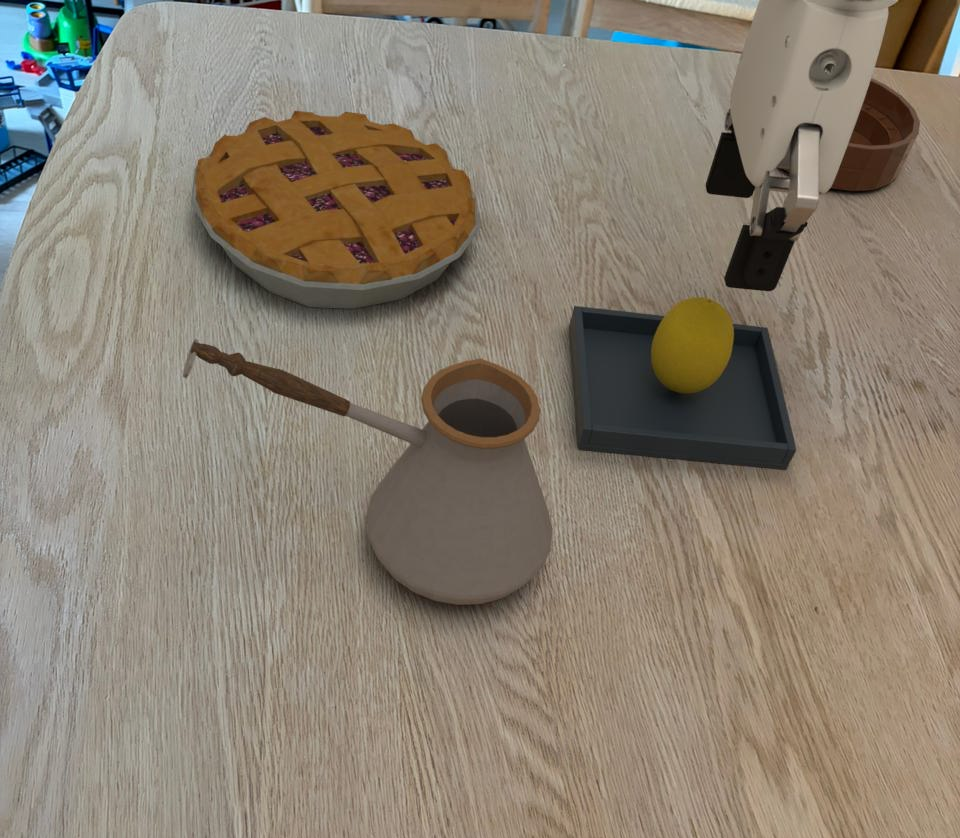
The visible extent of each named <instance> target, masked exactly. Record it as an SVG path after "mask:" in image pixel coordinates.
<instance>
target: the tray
mask: <svg viewBox="0 0 960 838" xmlns="http://www.w3.org/2000/svg"><path fill="white" fill-rule="evenodd" d="M664 316H665V315H660V314H650V313H642V312H641V313H640V312H634V311H633V312H632V311H624V310H615V309H607V308H598V307H588V306H580V305H574V306H573V309H572V313H571V317H570V321H569V326H568V332H569V334H568V335H569V344H570V359H571V361H570V362H571V372H572V373H571V374H572V387H573V388H572V389H573V401H574V402H573V403H574V412H575V413H574V417H575V428H576V429H575V430H576V443H577V450H580V451H589V452H590V451H592V452H602V453H611V454H621V455H630V456H631V455H633V456H641V457H650V458H651V457H652V458H661V459H672V460H673V459H674V460H683V461H694V462H702V463H714V464H725V465H734V466H745V467H754V468H755V467H756V468H765V469H776V470H784V471H785V470H787V469H788V468H789V465H790V464H791V462H792V460H793V457H794V456H795V454H796V452H797V445H796V442H795V437H794V432H793V429H792V425H791V420H790V417H789V413H788V408H787V403H786V399H785V395H784V391H783V386H782V383H781V378H780V374H779V370H778V366H777V361H776V358H775V353H774V349H773V345H772V341H771V336H770V332H769V328H768V327H766V326H758V325H749V324H742V323H741V324H740V323H732V324H733V328H734V339H733V347H732V352H731V356H730V359H729V362H728V364H727V366H726V367H725V369H724V371H723V372H722V374H721V376H720V377H719V378H718V379H717V380H716V381H715V382H714V383H713V384H712V385H711V386H709V387H708V388H706V389H704V390H702V391H699V392H697V393H690V394H682V393H678V392H674V391H672V390H670V389H668V388H667V387H665V386H664V385H663V384H662V383H661V382H660V381H659V379H658V378H657V377H656V375H655V373H654V370H653V367H652V363H651V347H652V342H653V338H654V336H655V333H656V331H657V328H658V326H659V324H660V323H661V321H662V319H663V318H664Z"/></svg>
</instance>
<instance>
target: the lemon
mask: <svg viewBox="0 0 960 838" xmlns="http://www.w3.org/2000/svg"><path fill="white" fill-rule="evenodd" d="M663 316H664V318H663V319H662V321H661V323H660V324H659V326H658V328H657V331H656V333H655V336H654V338H653V342H652V347H651V363H652V367H653V370H654V373H655V375H656V377H657V378H658V379H659V381H660V382H661V383H662V384H663V385H664V386H665V387H667V388H668V389H670V390H672V391H674V392H678V393H682V394H690V393H697V392H699V391H702V390H704V389H706V388H708V387H709V386H711V385H712V384H713V383H714V382H715V381H716V380H717V379H718V378H719V377H720V376H721V374H722V372H723V371H724V369H725V367H726V366H727V364H728V362H729V359H730V356H731V352H732V347H733V339H734V328H733V324H734V323H733V321H732V318H731V316H730V314H729V313H728V310H726V308H724V306H723V305H721V304H720V303H719V302H717V301H716V300H714V299H713V298H710V297H709V298H708V297H703V296H693V297H689V298H686V299H683V300H680V301H679V302H677V303H676V304H675V305H673V306H672V307H671V308H670V309H669V310H668V311H667V313H665V315H663Z"/></svg>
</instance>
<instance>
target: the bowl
mask: <svg viewBox="0 0 960 838" xmlns="http://www.w3.org/2000/svg"><path fill="white" fill-rule="evenodd" d="M920 127H921V120H920V118H919V116H918V114H917V111H916V109H915V108H914V106H912V105H911V103H910V102H908V100H907V99H906V98H905V97H904V96H902V94H900V93H898V92H897V91H896V90H894V89H893V88H891V87H890V86H888V85H886V83H883V82H881V81H879V80H877V79H875V78H872V77H871V81H870V84H869V87H868V90H867V93H866V96H865V99H864V101H863V104H862V107H861V110H860V113H859V116H858V118H857V121H856V124H855V127H854V129H853V132H852V135H851V138H850V140H849V143H848V146H847V148H846V151H845V154H844V156H843V159H842V162H841V164H840V167H839V170H838V172H837V175H836V177H835V180H834V182H833V184H832V186H831V188H830V189H836V190H844V191H851V192H861V191H873V190H877V189H879V188H882V187H885V186H888V185H891V183H892V182H893V181H894V180H895V179H896V178H897V177H898V176H899V175H900V173H901V171H902V169H903V166H904V165H905V162H906V160H907V158H908V156H909V154H910V153H911V150H912V148H913V146H914V144H915V142H916V140H917V138H918V136H919V134H920V133H919V132H920ZM782 170H785V171H786V172H788V173H790V169H786V168H782Z"/></svg>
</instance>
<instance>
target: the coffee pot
mask: <svg viewBox="0 0 960 838" xmlns="http://www.w3.org/2000/svg"><path fill="white" fill-rule="evenodd" d="M196 357H197V358H199V359H200V360H202V361H203V362H206V363H207V364H210V365H218V366H220V367H223V368H225V370H226V371H227V372H228V374H229V375H230V376H231V377H238V376H241V375H242V376H243V377H245V378H247V379H249V380H251V381H252V382H254V383H256V384H258V385H260V386H261V387H263V388H265V389H267V390H269V391H270V392H272V393H273V394H276V395H279V396H282V397H284V398H288V399H290V400H294V401H296V402H299V403H303V404H306V405H309V406H312V407H315V408H316V409H317V408H318V409H321V410H324V411H325V412H330V413H332V414H335V415H338V416H341V417H348V418H350V419H352V420H354V421H357V422H359V423H362V424H364V425H366V426H368V427H371V428H373V429H375V430H377V431H380V432H382V433H384V434H387V435H389V436H392V437H395V438H397V439H399V440H401V441H403V442H406V443H409V445H408V446H407V447H406V449H405V450H404V452H403V453H402V454H401V455H400V457H398V459H397V461H395V463H394V464H393V466H391V468H390V469H389V470H388V471H387V473H386V474H385V475H384V476H383V478H382V479H381V481H380V482H379V483H378V485H377V487H376V488H375V489H374V491H373V493H372V494H371V496H370V499H369V503H368V507H367V510H366V515H365V520H366V521H365V522H366V529H367V530H366V531H367V538H368V541H369V543H370V544H371V545H370V546H371V547H372V549H373V552H374V553H375V555H376V558H377V559H378V561H379V562H380V564H381V565H382V566H383V568H385V570H386V571H387V572H388V573H389V574H390V576H392V578H393V579H394V580H395V581H397V582H398V583H400V584H401V585H402V586H404V587H405V588H407V589H408V590H409V591H411V592H413V593H415V594H417V595H420V596H422V597H425V598H427V599H429V600H432V601H435V602H440V603H446V604H451V605H457V606H462V605H483V604H486V603H489V602H494V601H498V600H501V599H503V598H505V597H507V596H509V595H511V594H512V593H514V592H516V591H518V590H520V589H521V588H523V587H524V586H525V585H527V584H528V583H529V582H530V581H531V580H532V579H533V578H534V577H535V576H536V575H537V573H539V572H540V571H541V569H542V568H543V566H544V564H545V562H546V560H547V558H548V556H549V554H550V552H551V548H552V539H553V525H552V522H551V517H550V511H549V509H548V506H547V503H546V499H545V497H544V493H543V491H542V488H541V484H540V482H539V479H538V476H537V472H536V470H535V466H534V463H533V460H532V458H531V455H530V454H531V453H530V452H529V449H528V446H527V442H526V438H527V437H528V436H529V435H530V434H532V432H533V431H534V430H535V428H536V427H537V425H538V423H539V421H540V415H541V406H540V403H539V399H538V396H537V394H536V393H535V391H534V390H533V388H532V386H531V385H530V384H529V383H528V382H527V381H526V380H525V379H523V378H522V377H521V376H520V375H518V374H516V373H514V372H513V371H512V370H510V369H507V368H505V367H504V366H502V365H499V364H497V363H494V362H493V361H492V362H491V361H489V360H486V359H483V358H475V359H470V360H469V359H468V360H465V361H462V362H461V361H460V362H457V363H454V364H451V365H448V366H446V367H443V368H441V369H440V370H438V371H437V372H435V373H434V374H433V375H431V377H430V378H429V379H428V381H427V382H426V384H425V385H424V387H423V389H422V393H421V399H420V400H421V405H422V411H423V414H424V416H425V417H426V419H427V422H426V423H425V425H424V426H423V428H419V427H417V426H415V425H411V424H408V423H405V422H403V421H400V420H399V419H395V418H392V417H390V416H388V415H384V414H382V413H379V412H377V411H373V410H371V409H368V408H366V407H363V406H360V405H358V404H355V403H352V402H351V401H350V400H348V399H346V398H344V397H343V396H340V395H337V394H335V393H333V392H331V391H330V390H327V389H326V388H325V389H324V388H323V387H321V386H318V385H316V384H314V383H312V382H309V381H308V380H306V379H303V378H302V377H299V376H297V375H295V374H292V373H290V372H288V371H286V370H283V369H281V368H276V367H272V366H268V365H264V364H260V363H255V362H253V361H248V360H246V359H245V357H244V355H243V354H242V353H241V352H234V353H230V354H229V353H226V352H224V351H221V350H220V349H219V348H218V347H216V346H215V345H211V344H206V343H203V342H202V343H200V342H199V339H196V338H194V340H193V341H192V344H191V346H190V349H189V350H188V354H187V357H186V360H185V363H184V367H183V371H182V378H185V379H188V377H189V376H190V373H191V371H192V368H193V367H194V364H195V363H194V362H195V360H196Z"/></svg>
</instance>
